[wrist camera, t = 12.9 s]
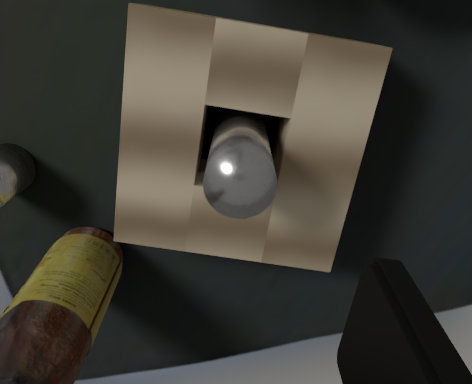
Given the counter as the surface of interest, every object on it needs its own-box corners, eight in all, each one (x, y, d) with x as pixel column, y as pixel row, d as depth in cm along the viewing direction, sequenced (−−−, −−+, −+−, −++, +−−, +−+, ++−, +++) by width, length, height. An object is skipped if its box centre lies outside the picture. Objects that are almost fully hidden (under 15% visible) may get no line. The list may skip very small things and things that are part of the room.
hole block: (148, 4, 32) (128, 2, 26) (366, 42, 32) (392, 48, 27) (132, 207, 38) (113, 241, 32) (317, 234, 38) (330, 272, 33)
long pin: (218, 101, 34) (208, 144, 23) (270, 109, 34) (283, 155, 23) (211, 150, 36) (198, 213, 25) (260, 158, 36) (269, 223, 25)
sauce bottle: (48, 226, 38) (-130, 423, 20) (119, 219, 38) (5, 413, 20) (67, 289, 41) (-77, 518, 22) (134, 284, 40) (44, 510, 22)
